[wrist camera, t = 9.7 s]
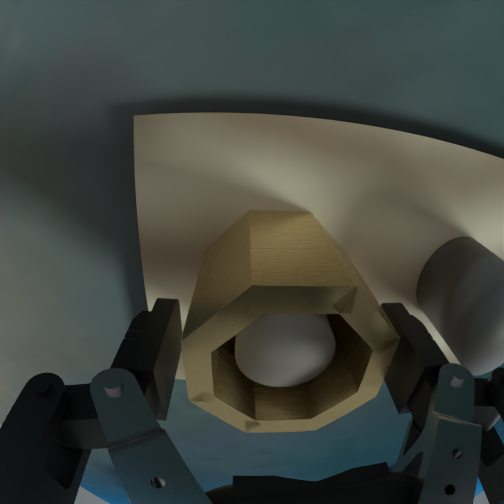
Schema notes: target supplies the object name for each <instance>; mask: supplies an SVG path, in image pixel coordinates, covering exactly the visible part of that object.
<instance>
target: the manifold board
mask: <svg viewBox="0 0 504 504" xmlns="http://www.w3.org/2000/svg"><path fill="white" fill-rule="evenodd" d="M134 167H135V189H136V205H137V218H138V230H139V241H140V250H141V259H142V268H143V276H144V283H145V291H146V298H147V304H148V311H152V308H153V306H154V304H155V301H156V299H157V298H169V299H178V300H179V303H180V314H181V324H182V333H183V329H184V325H185V322H186V318H187V314H188V310H189V307H190V303H191V299H192V295H193V292H194V288H195V285H196V281H197V277H198V274H199V270H200V267H201V263H202V260H203V256H204V253H205V250H206V249H207V248H208V247H209V246H210V245H211V244H212V243H213V242H215V241H216V240H217V239H218V238H219V237H220V236H221V235H222V234H223V233H224V232H226V231H227V230H228V229H229V228H230V227H231V226H232V225H233V224H234V223H235V222H237V221H238V220H239V219H240V218H241V217H242V216H243V215H244V214H246V213H247V212H248V211H249V210H265V211H291V212H312V213H313V215H314V216H315V217H316V218H317V219H318V221H319V222H320V223H321V224H322V225H323V226H324V227H325V229H326V230H327V231H328V232H329V233H330V235H331V236H332V237H333V238H334V239H335V241H336V242H337V243H338V244H339V245H340V247H341V248H342V249H343V250H344V251H345V253H347V255H348V256H349V258H350V259H351V261H352V262H353V264H354V265H355V267H356V268H357V270H358V272H359V273H360V275H361V276H362V278H363V279H364V281H365V282H366V284H367V285H368V287H369V289H370V290H371V292H372V293H373V295H374V296H375V298H376V300H377V301H378V303H379V304H380V305H381V304H382V303H398V302H400V303H402V304H403V305H404V307H405V308H406V309H407V311H408V312H409V314H410V315H413V316H415V317H416V318H417V319H419V320H420V321H421V322H422V323H423V324H424V326H425V327H426V328H427V330H428V333H430V334H431V336H432V337H433V340H435V341H436V343H437V344H438V346H439V347H440V349H441V350H442V352H443V353H444V355H445V356H446V358H447V359H448V361H449V362H450V363H456V364H461V365H462V366H464V367H465V368H467V369H468V370H469V371H470V372H471V373H472V375H482V374H485V373H487V372H490V371H492V370H493V369H495V368H497V367H498V366H500V365H501V364H502V363H504V159H502V158H499V157H496V156H493V155H490V154H487V153H483V152H480V151H477V150H474V149H470V148H467V147H463V146H460V145H456V144H452V143H449V142H445V141H441V140H437V139H433V138H429V137H424V136H420V135H416V134H411V133H406V132H401V131H396V130H391V129H386V128H381V127H375V126H369V125H363V124H356V123H350V122H342V121H335V120H327V119H318V118H309V117H298V116H286V115H272V114H253V113H169V114H150V115H136V116H134ZM335 347H336V343H335V338H334V335H333V333H332V330H331V327H330V324H329V321H328V319H327V316H326V314H263V315H262V316H261V317H259V318H258V319H256V320H255V321H254V322H252V323H251V324H250V325H248V326H247V327H246V328H244V329H243V330H242V331H240V332H239V333H237V334H236V338H235V359H236V363H237V365H238V367H239V369H240V370H241V372H242V373H243V374H244V375H245V376H247V377H248V378H249V379H251V380H253V381H255V382H257V383H260V384H263V385H267V386H273V387H287V386H294V385H298V384H301V383H304V382H306V381H309V380H311V379H313V378H314V377H316V376H317V375H319V374H320V373H321V372H322V371H324V370H325V369H326V367H327V366H328V365H329V364H330V362H331V360H332V359H333V356H334V353H335ZM175 379H183V380H186V377H185V370H184V363H183V356H182V351H181V355H180V359H179V363H178V368H177V372H176V376H175Z"/></svg>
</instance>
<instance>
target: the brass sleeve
mask: <svg viewBox="0 0 504 504" xmlns="http://www.w3.org/2000/svg"><path fill="white" fill-rule="evenodd" d="M263 314H326V316H327V319H328V321H329V324H330V327H331V330H332V333H333V335H334V338H335V343H336V347H335V353H334V356H333V359H332V360H331V362H330V364H329V365H328V366H327V367H326V369H325V370H324V371H322V372H321V373H320V374H319V375H317V376H316V377H314V378H313V379H311V380H309V381H306V382H304V383H301V384H298V385H294V386H287V387H273V386H267V385H263V384H260V383H257V382H255V381H253V380H251V379H249V378H248V377H247V376H245V375H244V374H243V373H242V372H241V370H240V369H239V367H238V365H237V363H236V359H235V338H236V334H237V333H239V332H240V331H242V330H243V329H244V328H246V327H247V326H248V325H250V324H251V323H252V322H254V321H255V320H256V319H258V318H259V317H261V316H262V315H263ZM399 341H400V338H399V336H398V334H397V333H396V331H395V329H394V327H393V326H392V324H391V322H390V321H389V319H388V318H387V316H386V314H385V313H384V311H383V309H382V308H381V306H380V304H379V303H378V301H377V300H376V298H375V296H374V295H373V293H372V292H371V290H370V289H369V287H368V285H367V284H366V282H365V281H364V279H363V278H362V276H361V275H360V273H359V272H358V270H357V268H356V267H355V265H354V264H353V262H352V261H351V259H350V258H349V256H348V255H347V253H345V251H344V250H343V249H342V248H341V247H340V245H339V244H338V243H337V242H336V241H335V239H334V238H333V237H332V236H331V235H330V233H329V232H328V231H327V230H326V229H325V227H324V226H323V225H322V224H321V223H320V222H319V221H318V219H317V218H316V217H315V216H314V215H313V213H312V212H291V211H265V210H249V211H248V212H247V213H246V214H244V215H243V216H242V217H241V218H240V219H239V220H238V221H237V222H235V223H234V224H233V225H232V226H231V227H230V228H229V229H228V230H227V231H226V232H224V233H223V234H222V235H221V236H220V237H219V238H218V239H217V240H216V241H215V242H213V243H212V244H211V245H210V246H209V247H208V248H207V249H206V250H205V253H204V256H203V260H202V263H201V267H200V270H199V274H198V277H197V281H196V285H195V288H194V292H193V295H192V299H191V303H190V307H189V310H188V314H187V318H186V322H185V325H184V329H183V333H182V337H181V341H180V342H181V349H182V356H183V363H184V370H185V377H186V383H187V390H188V396H189V401H191V402H192V403H194V404H196V405H197V406H199V407H201V408H202V409H204V410H206V411H207V412H209V413H211V414H213V415H214V416H216V417H218V418H220V419H221V420H223V421H225V422H227V423H229V424H230V425H232V426H234V427H236V428H238V429H240V430H242V431H244V432H294V431H311V430H317V429H319V428H321V427H323V426H325V425H327V424H329V423H331V422H332V421H334V420H336V419H338V418H340V417H342V416H343V415H345V414H347V413H349V412H350V411H352V410H354V409H356V408H357V407H359V406H361V405H362V404H364V403H366V402H367V401H369V400H371V399H372V398H374V397H375V396H376V395H377V393H378V391H379V389H380V387H381V384H382V382H383V380H384V378H385V375H386V373H387V371H388V368H389V366H390V364H391V361H392V359H393V356H394V354H395V351H396V349H397V346H398V344H399Z"/></svg>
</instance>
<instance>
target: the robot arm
mask: <svg viewBox="0 0 504 504" xmlns="http://www.w3.org/2000/svg"><path fill="white" fill-rule="evenodd" d="M380 306H381V308H382V309H383V311H384V313H385V314H386V316H387V318H388V319H389V321H390V322H391V324H392V326H393V327H394V329H395V331H396V333H397V334H398V336H399V338H400V341H399V344H398V346H397V349H396V351H395V354H394V356H393V359H392V361H391V364H390V366H389V368H388V371H387V373H386V375H385V378H384V380H385V383H386V385H387V387H388V390H389V392H390V394H391V397H392V399H393V401H394V404H395V406H396V408H397V411H398V413H399V414H404V413H409V412H411V414H412V418H411V419H410V421H409V423H408V427H407V430H406V434H405V437H404V441H403V444H402V447H401V450H400V453H399V456H398V459H397V462H396V464H395V466H394V468H393V469H392V471H389V468H388V465H387V462H384V463H379V464H374V465H369V466H363V467H357V468H352V469H350V470H347V471H345V472H342V473H339V474H337V475H334V476H331V477H329V478H326V479H323V480H320V481H305V480H297V479H291V478H284V477H278V476H233V485H227V486H223V487H219V488H216V489H213V490H211V491H208V492H206V493H205V492H204V491H203V489H202V488H201V486H200V485H199V483H198V482H197V480H196V479H195V477H194V476H193V474H192V473H191V471H190V470H189V468H188V467H187V465H186V464H185V462H184V460H183V459H182V457H181V456H180V454H179V452H178V451H177V449H176V447H175V446H174V444H173V442H172V441H171V439H170V437H169V436H168V434H167V432H166V431H165V430H164V429H162V428H161V427H160V425H159V423H158V421H157V420H165V421H166V417H167V413H168V408H169V403H170V399H171V394H172V390H173V385H174V381H175V376H176V372H177V368H178V363H179V359H180V355H181V351H182V349H181V342H180V341H181V337H182V324H181V314H180V303H179V300H178V299H169V298H157V299H156V301H155V304H154V306H153V308H152V311H142V312H141V313H139V314H138V315H137V316H136V317H135V318H134V319H133V320H132V322H131V324H130V326H129V328H128V331H127V333H126V335H125V339H123V341H122V343H121V345H120V348H119V350H118V352H117V354H116V356H115V358H114V361H113V363H112V365H111V367H110V369H106V370H103V371H101V372H100V373H98V374H97V375H96V376H95V377H94V378H93V379H92V381H91V383H89V384H79V385H64V383H63V381H62V379H61V378H60V377H59V376H58V375H56V374H53V373H41V374H38V375H36V376H34V377H32V378H31V379H30V380H29V381H28V382H27V383H26V385H25V387H24V388H23V390H22V391H21V393H20V395H19V396H18V398H17V400H16V402H15V403H14V405H13V407H12V408H11V410H10V412H9V414H8V415H7V417H6V419H5V421H4V423H3V424H2V426H1V428H0V504H74V502H75V499H76V495H77V492H78V489H79V486H80V483H81V480H82V476H83V473H84V470H85V467H86V464H87V461H88V458H89V455H90V453H91V450H92V449H98V448H107V449H108V452H109V455H110V458H111V460H112V463H113V465H114V467H115V470H116V472H117V474H118V477H119V479H120V481H121V483H122V486H123V488H124V490H125V492H126V494H127V496H128V498H129V500H130V502H131V504H473V500H474V495H475V489H476V483H477V477H479V480H480V482H481V484H482V487H483V489H484V491H485V494H486V496H487V498H488V501H489V504H504V444H503V443H502V441H501V439H500V437H499V435H498V433H497V432H496V430H495V428H494V426H493V425H494V424H495V423H496V422H497V420H498V419H499V418H500V417H501V418H502V420H503V421H504V368H497V369H495V370H494V371H493V372H492V374H491V376H490V377H489V379H482V378H474V377H473V375H472V373H471V372H470V371H469V370H468V369H467V368H465V367H464V366H462V365H460V364H456V363H450V362H449V361H448V359H447V358H446V356H445V355H444V353H443V352H442V350H441V349H440V347H439V346H438V344H437V343H436V341H435V340H433V337H432V336H431V334H430V333H428V330H427V328H426V327H425V326H424V324H423V323H422V322H421V321H420V320H419V319H417V318H416V317H415V316H413V315H410V314H409V312H408V311H407V309H406V308H405V307H404V305H403V304H402V303H400V302H398V303H382V304H381V305H380ZM156 419H157V420H156Z"/></svg>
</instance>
